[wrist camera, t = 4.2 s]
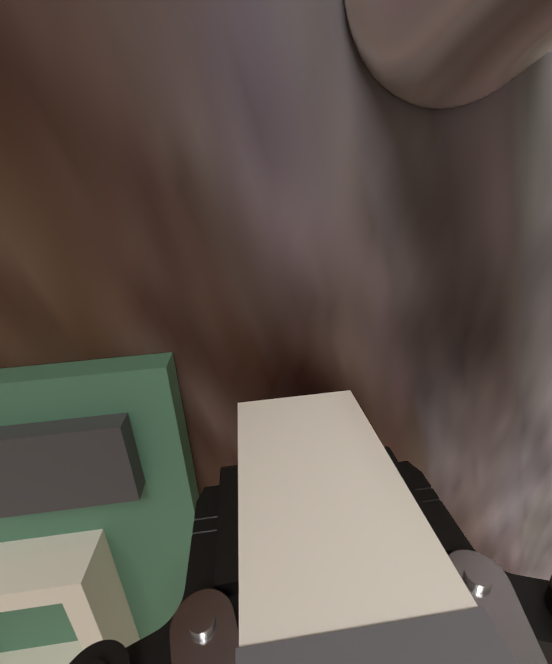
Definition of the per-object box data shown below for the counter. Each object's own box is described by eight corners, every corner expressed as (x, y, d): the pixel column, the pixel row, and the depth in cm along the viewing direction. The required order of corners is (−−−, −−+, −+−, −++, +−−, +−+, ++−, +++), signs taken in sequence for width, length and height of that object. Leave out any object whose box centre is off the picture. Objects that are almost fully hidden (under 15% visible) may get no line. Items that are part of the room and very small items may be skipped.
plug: (236, 401, 12) (235, 740, 4) (351, 388, 12) (531, 686, 5) (247, 491, 13) (259, 856, 6) (349, 477, 14) (483, 809, 6)
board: (-204, 388, 11) (-366, 456, 8) (172, 351, 12) (151, 401, 9) (-21, 671, 17) (-76, 771, 14) (224, 632, 18) (221, 718, 15)
